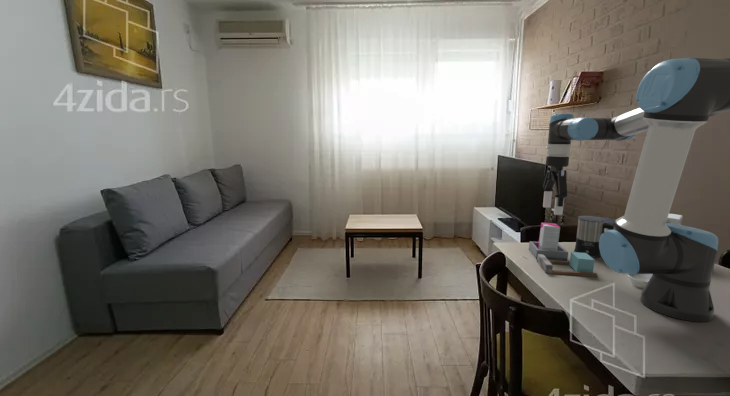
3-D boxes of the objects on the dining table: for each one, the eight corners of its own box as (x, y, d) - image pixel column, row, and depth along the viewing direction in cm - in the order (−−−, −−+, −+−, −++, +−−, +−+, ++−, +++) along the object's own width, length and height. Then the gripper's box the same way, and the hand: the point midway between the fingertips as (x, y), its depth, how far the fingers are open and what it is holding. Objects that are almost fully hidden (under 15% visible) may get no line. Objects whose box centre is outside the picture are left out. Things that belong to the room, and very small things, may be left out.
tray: (567, 260, 130) (568, 252, 130) (536, 258, 132) (536, 250, 132) (557, 251, 141) (558, 243, 140) (528, 249, 143) (529, 241, 142)
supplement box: (557, 255, 133) (560, 227, 131) (540, 254, 135) (543, 225, 133) (553, 250, 139) (556, 223, 137) (537, 249, 140) (540, 222, 138)
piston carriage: (592, 273, 118) (594, 259, 117) (576, 272, 119) (578, 258, 118) (584, 266, 125) (586, 252, 124) (569, 264, 126) (570, 251, 125)
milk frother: (576, 256, 136) (581, 219, 133) (566, 244, 150) (570, 211, 147) (619, 260, 131) (624, 222, 129) (604, 247, 146) (609, 213, 143)
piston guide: (597, 277, 116) (598, 268, 115) (545, 273, 119) (546, 264, 119) (583, 264, 127) (584, 257, 126) (536, 261, 130) (537, 253, 129)
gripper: (537, 153, 142) (532, 204, 146) (558, 157, 118) (552, 217, 122) (557, 154, 141) (552, 204, 144) (582, 158, 117) (575, 218, 120)
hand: (552, 210), depth 133 cm, fingers open, 13 cm apart
